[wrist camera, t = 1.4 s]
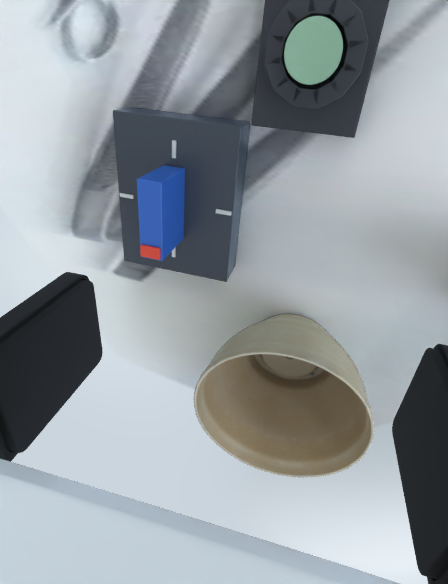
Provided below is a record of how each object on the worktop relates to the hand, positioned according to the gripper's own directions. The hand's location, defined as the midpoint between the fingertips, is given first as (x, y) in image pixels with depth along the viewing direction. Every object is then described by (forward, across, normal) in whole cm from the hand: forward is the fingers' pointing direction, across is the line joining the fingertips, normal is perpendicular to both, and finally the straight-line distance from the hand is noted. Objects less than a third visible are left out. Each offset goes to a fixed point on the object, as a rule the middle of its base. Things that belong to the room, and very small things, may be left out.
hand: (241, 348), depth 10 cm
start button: (+21, 0, -9) cm, 23 cm away
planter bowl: (+26, -2, +19) cm, 32 cm away
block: (+25, 0, -9) cm, 26 cm away
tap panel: (+26, +10, +3) cm, 28 cm away
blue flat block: (+22, +11, +3) cm, 25 cm away
